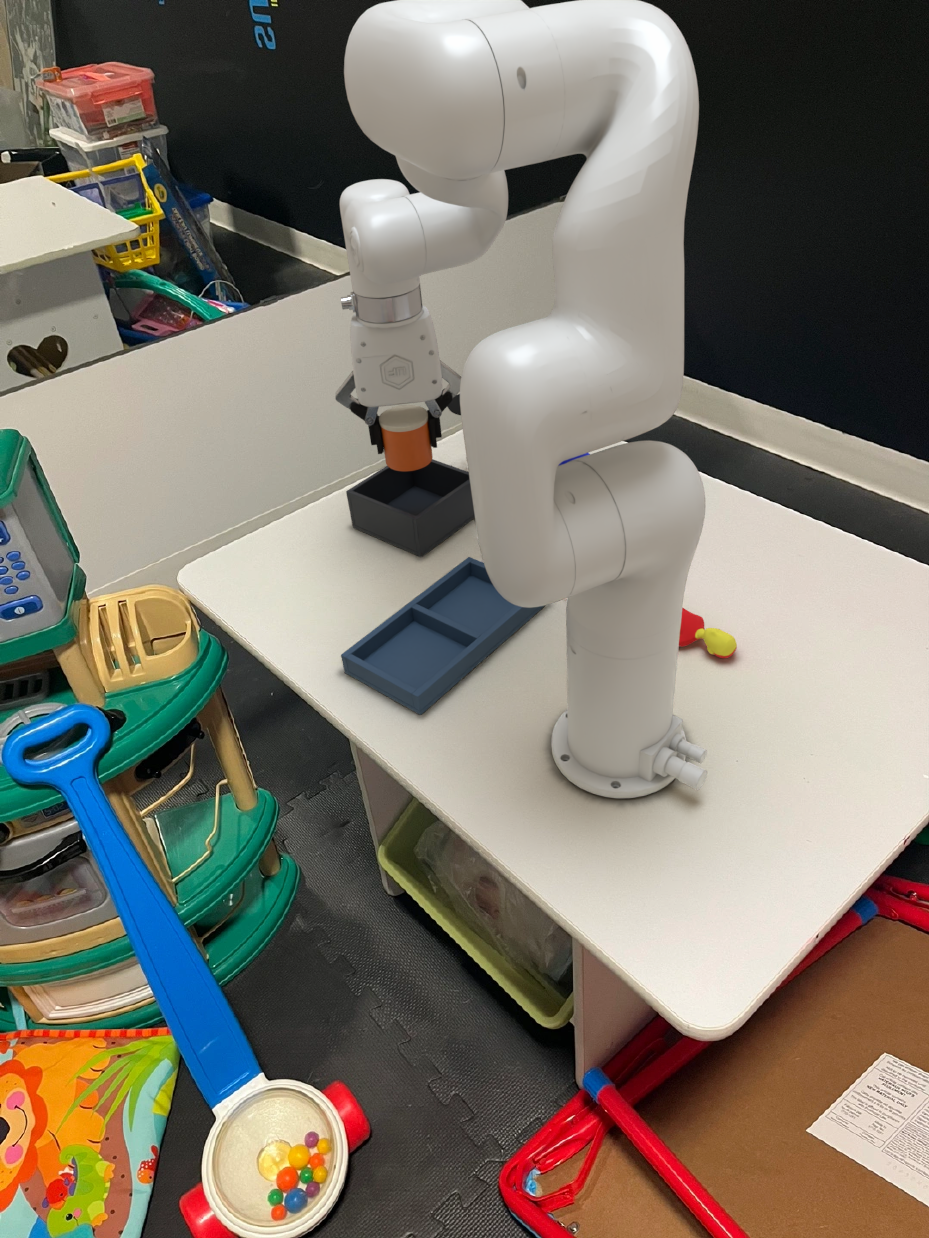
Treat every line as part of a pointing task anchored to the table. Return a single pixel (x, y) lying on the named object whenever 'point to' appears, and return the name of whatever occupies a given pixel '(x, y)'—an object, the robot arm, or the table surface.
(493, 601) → the blue divided tray
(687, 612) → the character figure
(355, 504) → the grey square open box
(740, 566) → the table surface
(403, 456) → the food tub
